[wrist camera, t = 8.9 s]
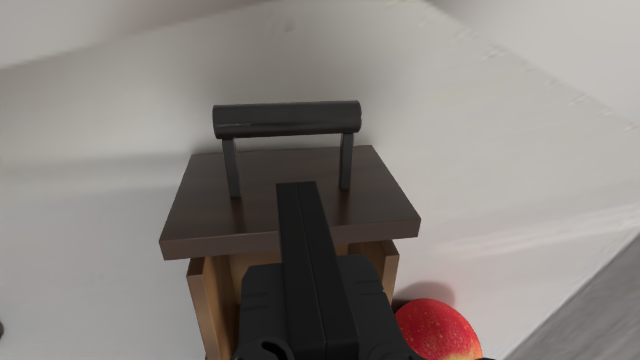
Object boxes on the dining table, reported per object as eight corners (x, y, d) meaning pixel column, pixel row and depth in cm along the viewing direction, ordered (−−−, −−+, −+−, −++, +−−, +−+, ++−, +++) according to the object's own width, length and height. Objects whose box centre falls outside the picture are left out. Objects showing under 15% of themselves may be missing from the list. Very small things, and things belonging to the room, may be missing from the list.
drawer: (176, 78, 20) (127, 137, 13) (378, 73, 22) (441, 123, 14) (220, 302, 30) (207, 410, 23) (357, 287, 32) (388, 382, 24)
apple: (379, 343, 38) (414, 447, 30) (373, 292, 34) (412, 398, 25) (450, 325, 39) (504, 423, 30) (453, 273, 34) (517, 371, 26)
